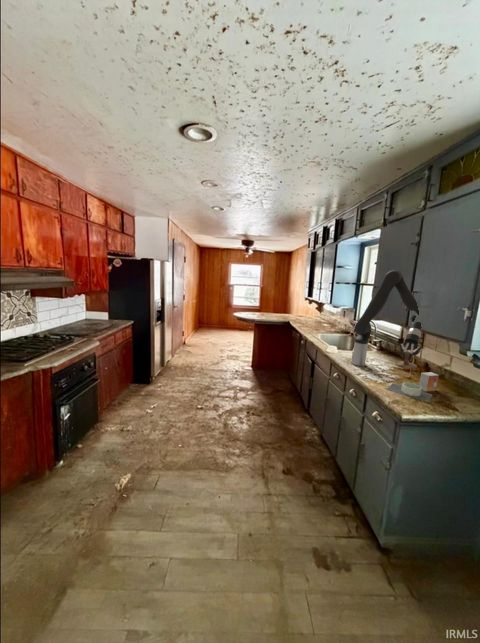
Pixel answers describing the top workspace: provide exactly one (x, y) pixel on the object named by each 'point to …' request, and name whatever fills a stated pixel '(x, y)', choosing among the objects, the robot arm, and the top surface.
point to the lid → (406, 363)
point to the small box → (429, 381)
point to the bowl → (411, 389)
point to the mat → (397, 389)
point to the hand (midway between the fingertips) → (406, 359)
